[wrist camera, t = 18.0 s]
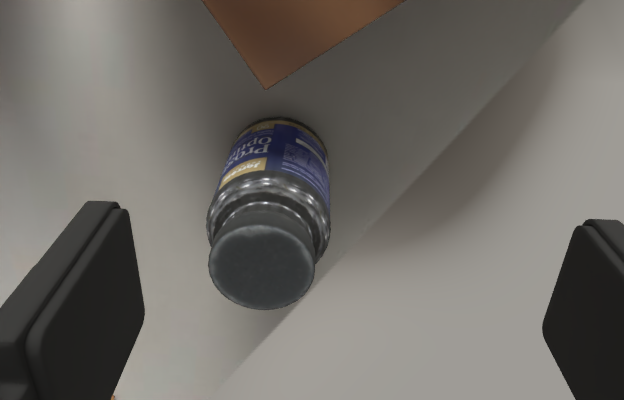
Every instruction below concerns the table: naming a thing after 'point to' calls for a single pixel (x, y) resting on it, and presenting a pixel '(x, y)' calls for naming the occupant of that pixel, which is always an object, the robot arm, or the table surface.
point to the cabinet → (291, 30)
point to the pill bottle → (270, 215)
